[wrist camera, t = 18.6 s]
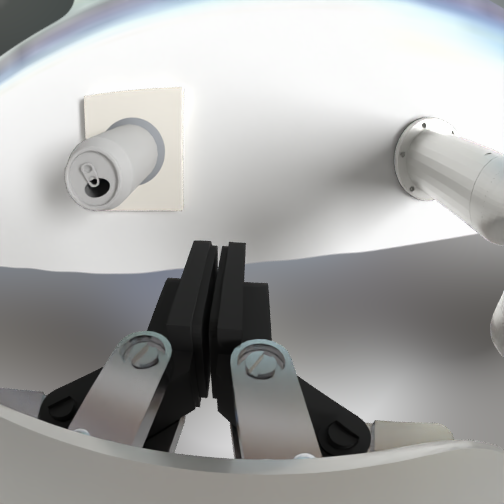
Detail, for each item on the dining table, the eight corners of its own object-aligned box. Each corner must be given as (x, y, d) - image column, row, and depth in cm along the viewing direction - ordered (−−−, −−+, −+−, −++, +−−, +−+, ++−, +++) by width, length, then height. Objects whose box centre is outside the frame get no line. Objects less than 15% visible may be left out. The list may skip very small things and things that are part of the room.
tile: (184, 87, 33) (181, 87, 32) (183, 206, 41) (181, 211, 39) (89, 95, 32) (83, 96, 31) (97, 206, 40) (92, 210, 39)
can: (115, 186, 37) (74, 225, 27) (98, 134, 33) (48, 156, 23) (166, 172, 37) (138, 207, 26) (150, 115, 33) (113, 128, 23)
